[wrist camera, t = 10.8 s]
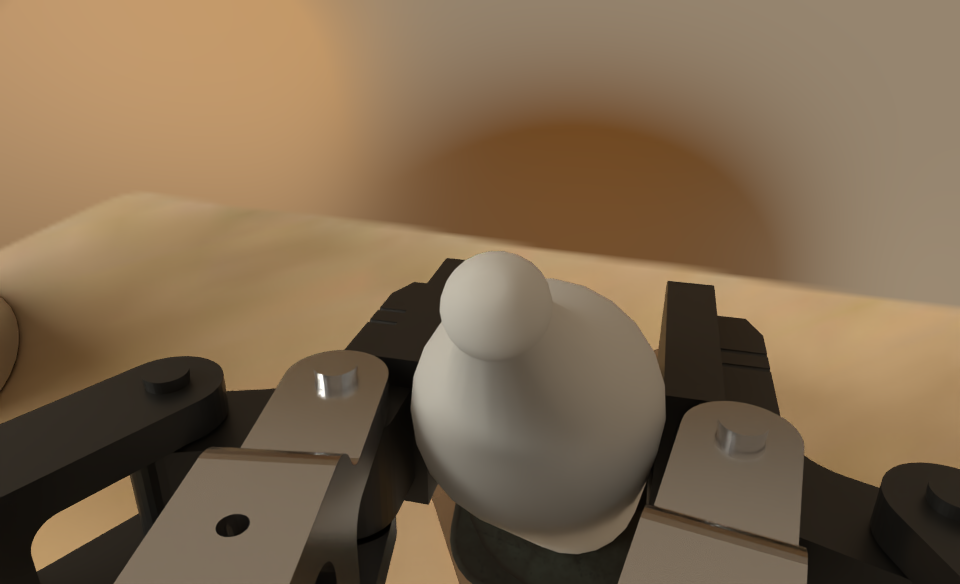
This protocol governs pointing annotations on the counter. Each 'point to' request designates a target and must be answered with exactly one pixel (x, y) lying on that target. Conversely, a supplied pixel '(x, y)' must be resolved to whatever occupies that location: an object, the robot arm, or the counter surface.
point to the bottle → (537, 424)
